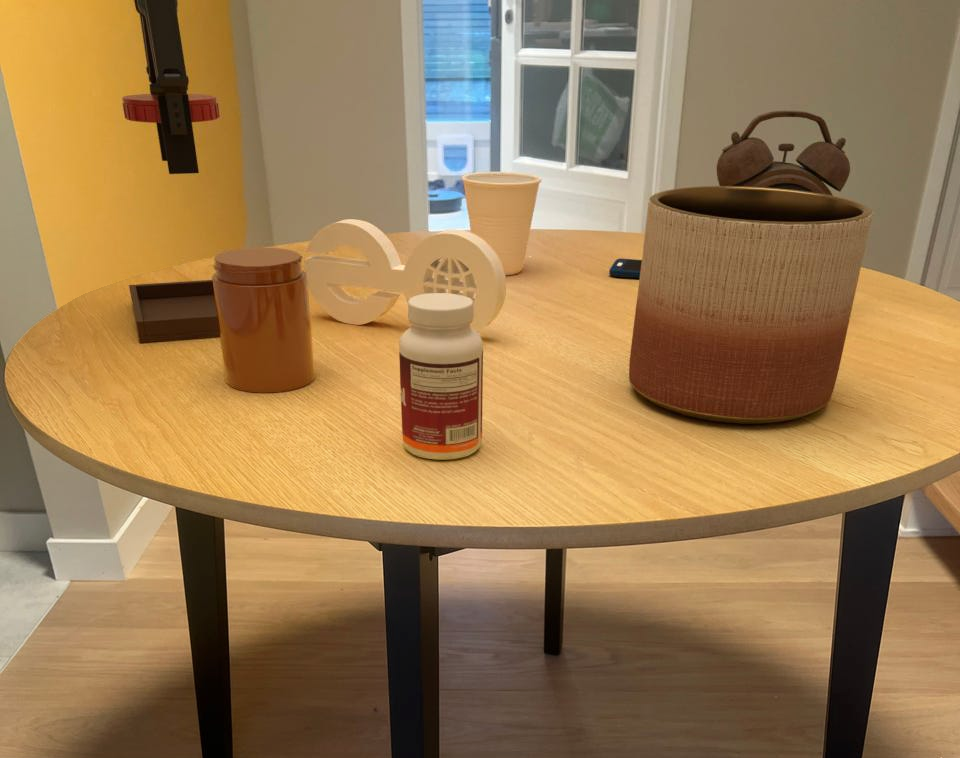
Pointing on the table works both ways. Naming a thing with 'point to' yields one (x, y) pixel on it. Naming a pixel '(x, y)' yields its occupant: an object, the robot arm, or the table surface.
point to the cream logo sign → (402, 272)
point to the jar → (263, 319)
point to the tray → (174, 310)
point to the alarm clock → (756, 167)
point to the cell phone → (626, 268)
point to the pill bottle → (441, 378)
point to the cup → (502, 212)
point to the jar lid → (148, 111)
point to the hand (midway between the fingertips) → (179, 166)
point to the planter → (745, 300)
